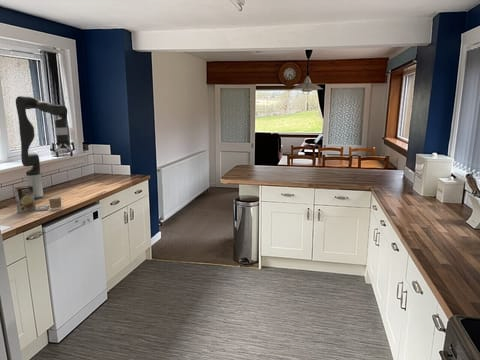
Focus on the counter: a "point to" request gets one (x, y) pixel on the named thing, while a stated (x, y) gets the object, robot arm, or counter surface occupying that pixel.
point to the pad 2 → (56, 207)
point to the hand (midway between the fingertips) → (64, 156)
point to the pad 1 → (42, 208)
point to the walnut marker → (55, 202)
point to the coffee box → (25, 199)
